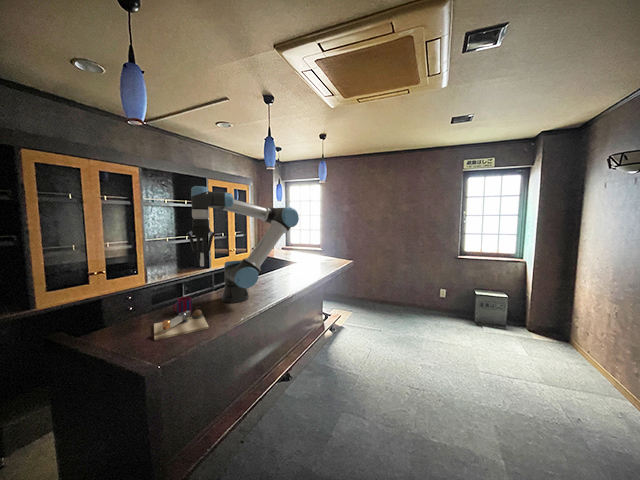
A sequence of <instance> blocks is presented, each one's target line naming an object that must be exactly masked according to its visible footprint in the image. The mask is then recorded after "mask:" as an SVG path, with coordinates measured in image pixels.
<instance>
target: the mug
mask: <svg viewBox="0 0 640 480" xmlns="http://www.w3.org/2000/svg"><path fill="white" fill-rule="evenodd" d="M176 308H177V309H176ZM172 309H173V312H175V313H177V314H179V313H181V312H186V311H191V312H192V311H193V299H192V297H191V296H182V297H178V298H176V302H175V303H174V304H173V308H172Z"/></svg>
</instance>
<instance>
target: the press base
mask: <svg viewBox="0 0 640 480" xmlns="http://www.w3.org/2000/svg"><path fill="white" fill-rule="evenodd" d="M162 322H163V321H161V322H156V323H154V324H153V339H154V341H157V340H162V339H167V338H172V337H177V336H181V335H185V334H190V333H196V332H200V331H204V330H209V328H210V327H209V325H208V322H207V321H206V318H205V316H204V314H203V312H202V310H201V309H195V310H194V311H193V313H192V315H191V316H190V317H189V318H187V321H184V322H180V323H179V324H177V325H175V326H174V327H172V328H170V329H168V330H163V324H162Z"/></svg>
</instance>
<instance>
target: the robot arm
mask: <svg viewBox="0 0 640 480" xmlns="http://www.w3.org/2000/svg"><path fill="white" fill-rule="evenodd" d="M190 192H191V193H190V198H191V217H192V218H193V219H191V223H192V225H191V226H192V227H191V230H190V231H189V232H187V233H186V236H187V237H188V238H189V242H190V245H191V249H192V252H193V253H196V254H197V256H196V257H197V258H196V259H197V260H198V261H199V266H200V267H205V260H206V259H207V253H208V252H210V251H211V247H212V243H213V239H214V236H215V235H216V233H215V232H213V231H212V230H211V228H210V219H209V218H210V214H209V209H210V208H211V209H217V210H221V211H225V212H228V213H229V212H231V213H235V214H239V215H243V216H247V217H251V218H254V219H257V220H261V221H262V222H264V223H268V224H270V226H269V228H268V229H267V230H266V232H265V233H264V235H263V236H261V237H262V238H261V239H260V240H259V241H258V243H257V245H256V246H255V247H254V248H253V250H252V251H251V253H250V254H249V255H248V257H245V258H242V260H229V261H225V262H224V265H223V266H224V267H223V269H224V289H223V292H222V294H221V295H222V296H221V301H222V302H224V303H231V304H235V303H241V302H244V301H247V300H249V296H250V295H249V291H248V289H249V288H252V287H253V286H255V285H256V284H257V282H258V281H259V274H260V273H261V270H262V269H261V266H262V264H263V263H264V262H265V261H266V259H267V257H268V256H269V255H270V254H271V252H272V250H273V249H274V247H275V246H276V245H277V243H278V242H279V240H280V239H281V238H282V236H283V235H284V234H288V232H289V231H290V230H291V228H294V227H295V226H297V225H298V223H299V220H300V217H299V214H298V213H299V212H298V211H297V210H296V209H295V208H294V207H289V206H286V207H269V206H264V207H263V206H260V205H256V204H252V203H249V202H245V201H241V200H238V199H234V195H233V194H232V192H227V191H226V192H224V191H223V192H221V191H210V190H209V188H208V187H207V186H202V185H201V186H199V185H194V186H192V187H191V189H190ZM193 235H194V236H195V237H196V244H195V242H194V238H193ZM208 235H209V238H208V242H207V236H208ZM201 239H202V252H201Z"/></svg>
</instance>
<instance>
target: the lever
mask: <svg viewBox="0 0 640 480" xmlns="http://www.w3.org/2000/svg"><path fill="white" fill-rule="evenodd" d="M191 312H192V311H186V312H181V313H178V315H177V316H175V317H174V318H171V319H164V320H162V321H161V322H162V324H163V330H168V329H170V328H172V327H174V326H175V325H177V324H179V323H180V322H184V321H187V318H189V317H192V313H191Z"/></svg>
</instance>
